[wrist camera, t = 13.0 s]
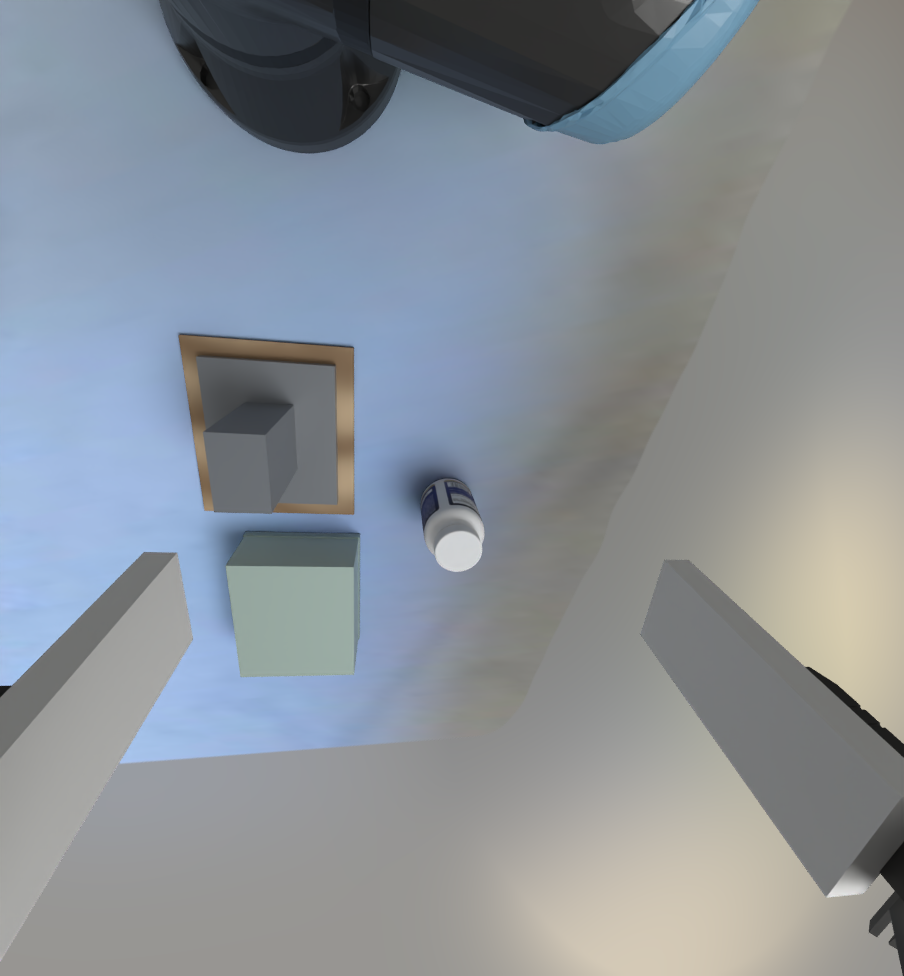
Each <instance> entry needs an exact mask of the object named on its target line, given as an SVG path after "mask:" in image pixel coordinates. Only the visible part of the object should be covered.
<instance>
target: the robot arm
mask: <svg viewBox="0 0 904 976" xmlns="http://www.w3.org/2000/svg"><path fill="white" fill-rule="evenodd" d="M159 2H160V6H161V9H162V12H163V15H164V18H165V21H166V24H167V26H168V29H169V31H170V34H171V36H172V38H173V41H174V43H175V45H176V47H177V49H178V51H179V53H180V55H181V56H182V58H183V60H184V62H185V63H186V65H187V67H188V68H189V70H190V71H191V73H192V74H193V76H194V77H195V79H196V80H197V82H198V83H199V84H200V86H201V87H202V88H203V90H204V91H205V92H206V93H207V94H208V95H209V97H210V98H211V99H212V100H213V101H214V102H215V103H216V104H217V105H218V106H219V107H220V108H221V109H222V110H223V111H224V112H225V113H226V115H228V116H229V117H230V118H231V119H232V120H233V121H234V122H235V123H236V124H238V125H239V126H240V127H241V128H243V129H244V130H245V131H247V132H248V133H249V134H251V135H253V136H254V137H256V138H258V139H259V140H261V141H263V142H265V143H267V144H270V145H272V146H275V147H277V148H280V149H284V150H288V151H292V152H298V153H320V152H326V151H330V150H334V149H337V148H340V147H342V146H344V145H347V144H349V143H350V142H352V141H354V140H355V139H357V138H358V137H360V136H361V135H362V134H364V133H365V132H366V131H367V130H368V129H369V128H370V127H371V126H372V125H373V124H374V123H375V122H376V120H377V119H378V118H379V117H380V115H381V114H382V112H383V111H384V109H385V108H386V106H387V104H388V102H389V101H390V98H391V96H392V94H393V92H394V89H395V87H396V84H397V81H398V78H399V75H400V71H401V69H402V70H405V71H407V72H410V73H412V74H415V75H417V76H420V77H422V78H425V79H427V80H430V81H432V82H435V83H437V84H440V85H442V86H445V87H447V88H449V89H452V90H454V91H457V92H459V93H462V94H464V95H467V96H469V97H472V98H474V99H477V100H479V101H482V102H484V103H487V104H489V105H492V106H494V107H496V108H499V109H501V110H504V111H506V112H509V113H511V114H514V115H516V116H519V117H521V118H523V119H524V123H525V124H526V125H527V126H529V127H531V128H532V129H535V130H537V131H551V132H553V131H557V132H560V133H563V134H566V135H569V136H572V137H575V138H578V139H580V140H583V141H586V142H589V143H593V144H606V143H609V142H617V141H619V140H623V139H627V138H629V137H632V136H633V135H635V134H637V133H639V132H640V131H642V130H643V129H645V128H646V127H648V126H649V125H651V124H652V123H653V122H655V121H656V120H657V119H659V118H660V117H661V116H662V115H663V114H665V113H666V112H667V111H668V110H669V109H670V108H671V107H672V106H673V105H675V104H676V103H677V102H678V101H679V100H680V99H681V98H682V97H683V96H684V95H685V93H686V92H687V91H688V90H689V89H690V88H691V87H692V86H693V85H694V84H695V83H696V82H697V80H698V79H699V78H700V77H701V76H702V75H703V74H704V73H705V71H706V70H707V69H708V68H709V67H710V66H711V64H712V63H713V62H714V61H715V60H716V58H717V57H718V56H719V55H720V53H721V52H722V51H723V49H724V48H725V47H726V46H727V44H728V43H729V42H730V41H731V39H732V38H733V37H734V35H735V34H736V33H737V31H738V30H739V29H740V27H741V26H742V25H743V23H744V22H745V20H746V19H747V18H748V16H749V15H750V13H751V12H752V10H753V9H754V8H755V6H756V5H757V3H758V2H759V0H159ZM640 635H641V636H642V638H643V639H644V641H645V642H646V643H647V645H648V646H649V647H650V649H651V650H652V652H653V653H654V654H655V656H656V658H657V659H658V660H659V662H660V663H661V665H662V666H663V667H664V669H665V670H666V672H667V673H668V675H669V676H670V677H671V679H672V680H673V682H674V683H675V684H676V686H677V687H678V689H679V690H680V691H681V693H682V694H683V696H684V697H685V698H686V700H687V701H688V703H689V704H690V706H691V707H692V708H693V710H694V711H695V713H696V714H697V716H698V717H699V718H700V720H701V721H702V723H703V724H704V725H705V727H706V728H707V730H708V731H709V732H710V734H711V735H712V736H713V738H714V739H715V741H716V742H717V744H718V745H719V746H720V748H721V749H722V751H723V752H724V754H725V755H726V757H727V758H728V759H729V760H730V762H731V764H732V765H733V766H734V768H735V769H736V771H737V772H738V774H739V775H740V776H741V778H742V779H743V781H744V782H745V783H746V785H747V786H748V787H749V789H750V790H751V792H752V793H753V794H754V796H755V798H756V799H757V800H758V802H759V803H760V805H761V806H762V807H763V809H764V810H765V812H766V813H767V815H768V816H769V817H770V819H771V820H772V822H773V823H774V824H775V826H776V827H777V829H778V830H779V831H780V833H781V834H782V836H783V837H784V838H785V840H786V841H787V843H788V844H789V845H790V847H791V848H792V850H793V851H794V852H795V854H796V855H797V857H798V858H799V860H800V861H801V863H802V864H803V865H804V867H805V868H806V870H807V871H808V872H809V874H810V875H811V877H812V878H813V880H814V881H815V882H816V884H817V885H818V886H819V888H820V889H821V891H822V892H823V894H824V895H825V896H826V897H836V896H846V895H856V894H864V892H865V891H866V890H867V889H868V888H869V886H870V885H871V884H872V883H873V881H874V880H875V879H876V878H877V877H878V875H879V874H880V873H881V875H882V876H883V877H884V878H885V879H886V881H887V882H888V883H889V884H890V885H891V887H892V888H893V889H894V890H895V892H894V893H893V894H892V895H891V897H890V898H889V899H888V900H887V901H886V902H885V903H884V905H883V906H882V907H881V908H880V909H879V910H878V912H877V913H876V914H875V915H874V916H873V918H872V919H871V920H870V925H869V932H870V933H871V934H873V935H874V936H876V937H878V935H879V934H880V933H881V932H882V931H883V930H884V929H885V928H886V926H887V925H888V924H889V923H892V925H893V930H894V936H893V937H892V938H891V940H890V941H889V945H891V946H893V947H894V948H896V949H898V954H899V959H900V964H901V969H902V973H903V976H904V744H903V743H902V742H901V741H900V740H898V739H897V738H896V737H895V736H894V735H893V734H892V733H891V732H889V731H888V730H887V729H886V728H882V727H881V726H880V723H879V722H878V721H877V720H876V719H875V718H874V717H873V716H872V715H870V714H869V713H868V712H867V711H866V710H862V709H861V708H860V705H859V704H858V703H857V702H856V701H855V700H854V699H853V698H851V697H850V696H849V695H848V694H847V693H846V692H845V691H844V690H842V689H841V688H840V687H839V686H838V685H837V684H835V683H834V682H832V681H831V680H829V679H827V678H826V677H824V676H822V675H821V674H820V673H818V672H816V671H815V670H813V669H812V668H810V667H804V666H803V665H802V664H801V663H800V662H799V661H798V660H797V659H796V658H794V656H792V655H791V654H790V653H789V652H788V651H787V650H786V649H785V648H784V647H782V645H780V644H779V643H778V642H777V641H776V640H775V639H774V638H773V637H772V636H771V635H770V634H769V633H767V632H766V631H765V630H764V629H763V628H762V627H761V626H760V625H759V624H758V623H756V622H755V621H754V620H753V619H752V618H751V617H750V616H749V615H748V614H747V613H746V612H745V611H744V610H742V609H741V608H740V607H739V606H738V605H737V604H736V603H735V602H734V601H732V600H731V599H730V598H729V597H728V596H727V595H726V594H725V593H724V592H723V591H722V590H721V589H720V588H719V587H717V586H716V585H715V584H714V583H713V582H712V581H711V580H710V579H709V578H708V577H707V576H705V575H704V574H703V573H702V572H701V571H700V570H699V569H698V568H697V567H696V566H695V565H694V564H692V563H691V562H690V561H689V560H664V562H663V566H662V569H661V572H660V575H659V578H658V581H657V584H656V587H655V590H654V593H653V597H652V600H651V603H650V606H649V609H648V612H647V616H646V618H645V622H644V625H643V628H642V631H641V634H640ZM192 640H193V636H192V631H191V625H190V620H189V614H188V609H187V604H186V598H185V593H184V587H183V582H182V576H181V571H180V566H179V560H178V555H177V553H161V552H144V553H143V554H142V555H141V556H140V557H139V558H138V559H137V560H136V561H135V562H134V563H133V564H132V565H131V566H130V567H129V568H128V569H127V570H126V571H125V572H124V573H123V574H122V575H121V576H120V577H119V578H118V579H117V580H116V581H115V582H114V583H113V584H112V585H111V586H110V587H109V588H108V589H107V590H106V591H105V592H104V593H103V594H102V595H101V596H100V597H99V598H98V599H97V600H96V601H95V602H94V603H93V604H92V605H91V606H90V607H89V608H88V609H87V610H86V611H85V612H84V613H83V614H82V615H81V616H80V617H79V618H78V619H77V620H76V621H75V623H74V624H73V625H72V626H71V627H70V628H69V629H68V630H67V631H66V632H65V633H64V634H63V635H62V636H61V637H60V638H59V639H58V640H57V641H56V642H55V643H54V644H53V645H52V646H51V647H50V648H49V649H48V650H47V651H46V652H45V653H44V654H43V655H42V656H41V657H40V658H39V659H38V660H37V661H36V662H35V663H34V664H33V665H32V666H31V667H30V668H29V669H28V670H27V671H26V672H25V673H24V674H23V675H22V676H21V677H20V678H19V679H18V680H17V681H16V682H15V683H14V684H13V685H12V686H0V962H1V960H2V958H3V957H4V955H5V953H6V952H7V950H8V948H9V946H10V945H11V943H12V941H13V940H14V938H15V937H16V935H17V933H18V932H19V930H20V928H21V926H22V925H23V923H24V921H25V920H26V918H27V916H28V915H29V913H30V911H31V910H32V908H33V906H34V905H35V903H36V901H37V900H38V898H39V896H40V895H41V893H42V891H43V890H44V888H45V886H46V885H47V883H48V881H49V880H50V878H51V876H52V875H53V873H54V871H55V870H56V868H57V866H58V865H59V863H60V861H61V859H62V858H63V856H64V854H65V853H66V851H67V849H68V847H69V846H70V844H71V843H72V841H73V839H74V838H75V836H76V834H77V833H78V831H79V829H80V828H81V826H82V824H83V822H84V821H85V819H86V818H87V816H88V814H89V813H90V811H91V809H92V808H93V806H94V804H95V803H96V801H97V799H98V798H99V796H100V794H101V793H102V791H103V789H104V787H105V786H106V784H107V782H108V781H109V779H110V777H111V776H112V774H113V772H114V771H115V769H116V767H117V766H118V764H119V762H120V761H121V759H122V757H123V756H124V754H125V752H126V751H127V749H128V747H129V746H130V744H131V742H132V741H133V739H134V737H135V736H136V734H137V732H138V731H139V729H140V727H141V726H142V724H143V722H144V720H145V719H146V717H147V715H148V714H149V712H150V710H151V709H152V707H153V705H154V704H155V702H156V700H157V699H158V697H159V695H160V694H161V692H162V690H163V689H164V687H165V685H166V684H167V682H168V680H169V679H170V677H171V675H172V674H173V672H174V670H175V669H176V667H177V665H178V664H179V662H180V660H181V659H182V657H183V655H184V653H185V652H186V650H187V648H188V647H189V645H190V643H191V642H192Z"/></svg>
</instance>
